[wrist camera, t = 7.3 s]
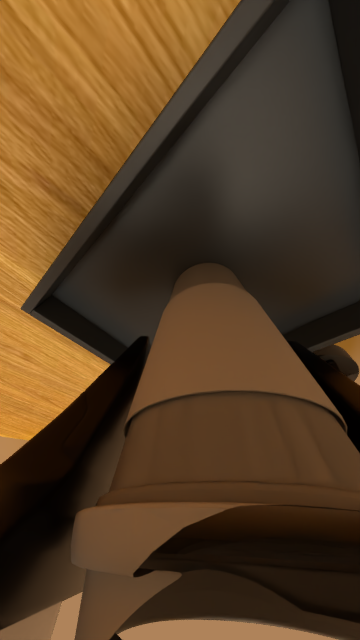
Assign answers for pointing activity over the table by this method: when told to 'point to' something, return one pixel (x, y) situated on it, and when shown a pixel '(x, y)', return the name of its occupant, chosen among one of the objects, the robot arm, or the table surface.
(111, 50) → the table surface
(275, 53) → the tray
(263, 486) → the cup
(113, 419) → the robot arm
